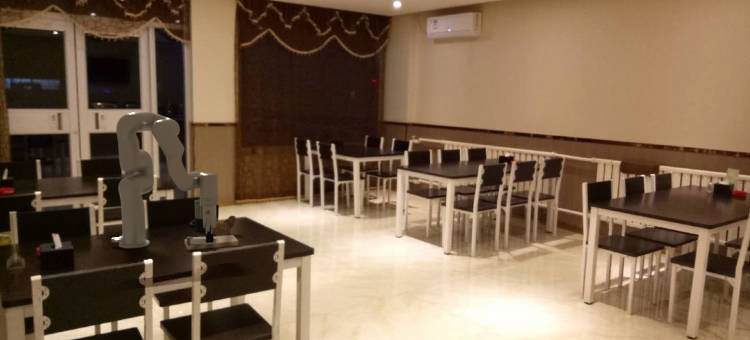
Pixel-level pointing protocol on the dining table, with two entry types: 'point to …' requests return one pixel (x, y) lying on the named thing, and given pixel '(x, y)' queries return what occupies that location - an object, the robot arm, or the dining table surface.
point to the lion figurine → (226, 225)
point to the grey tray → (221, 242)
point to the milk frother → (200, 216)
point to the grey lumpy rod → (199, 240)
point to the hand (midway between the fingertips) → (209, 242)
